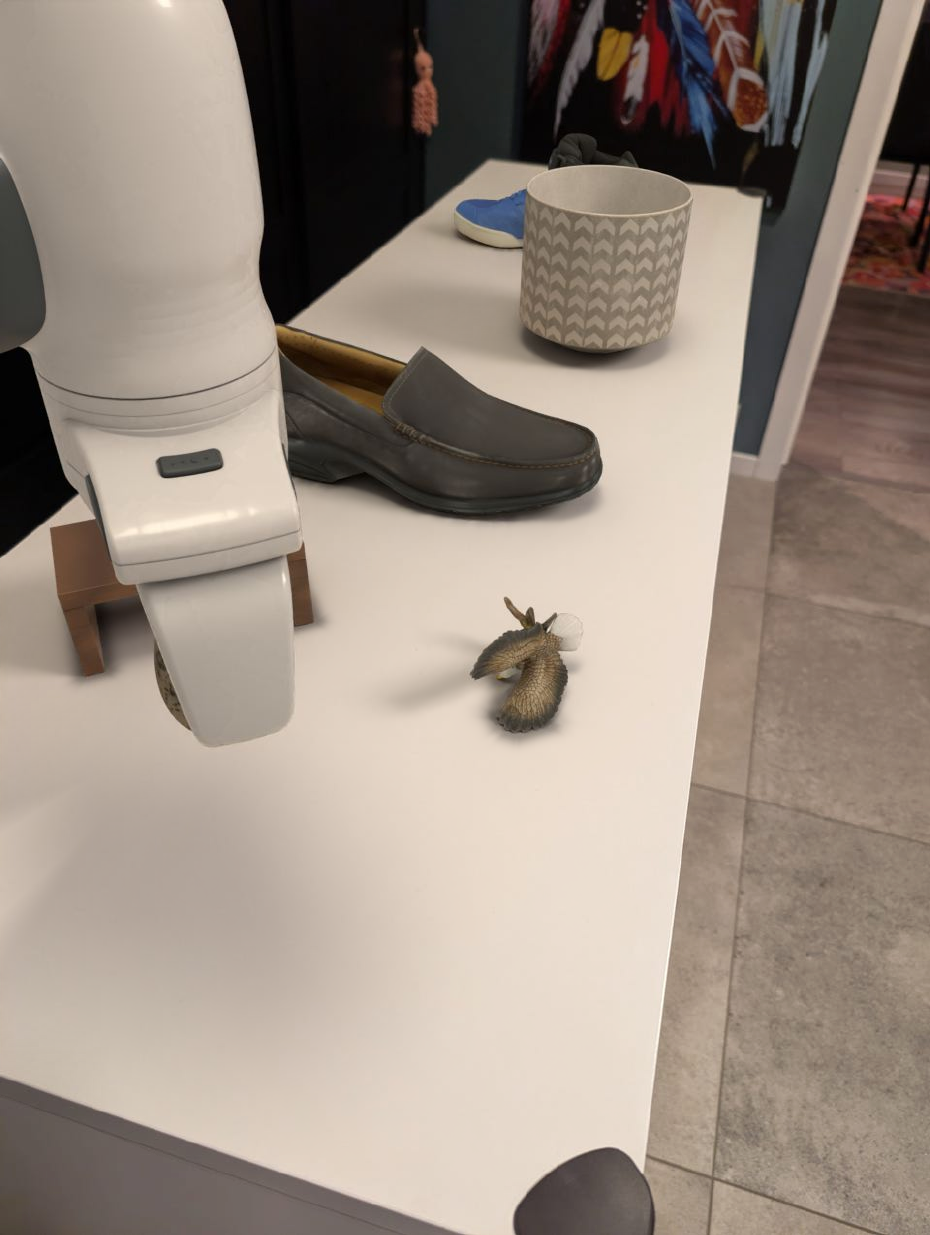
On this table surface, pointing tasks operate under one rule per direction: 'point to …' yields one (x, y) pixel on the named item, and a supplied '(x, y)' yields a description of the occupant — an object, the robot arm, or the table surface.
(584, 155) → the sneaker
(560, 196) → the planter
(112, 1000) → the table surface
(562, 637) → the eagle figurine
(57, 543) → the shelf
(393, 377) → the loafer
